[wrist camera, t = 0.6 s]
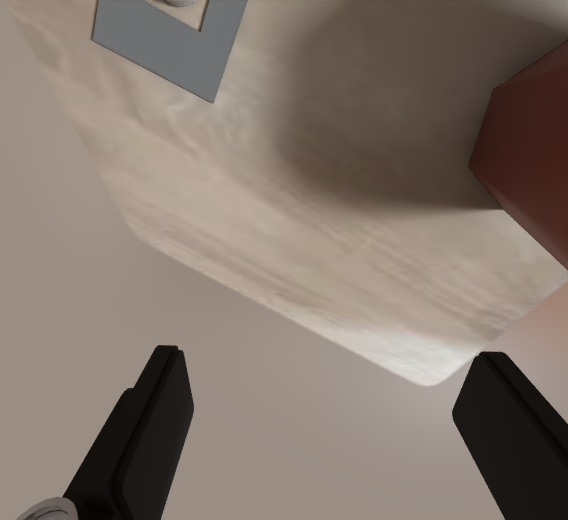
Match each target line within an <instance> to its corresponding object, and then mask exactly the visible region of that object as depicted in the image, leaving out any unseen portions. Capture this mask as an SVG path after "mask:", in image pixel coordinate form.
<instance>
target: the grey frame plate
mask: <svg viewBox="0 0 568 520" xmlns="http://www.w3.org/2000/svg"><path fill="white" fill-rule="evenodd" d="M246 3H247V0H209V4H208V7H207V11H206V14H205V18H204V21H203V25H202V29H201V32H199V31H197V30H195V29H193V28H192V27H190V26H188V25H186V24H185V23H183V22H181V21H179V20H178V19H176V18H174V17H172V16H171V15H169V14H167V13H165V12H164V11H162V10H160V9H158V8H157V7H155V6H153V5H151V4H150V3H148V2H146V1H144V0H99V1H98V8H97V14H96V21H95V28H94V34H93V40H94V41H95V42H97V43H99V44H101V45H103V46H105V47H107V48H109V49H111V50H113V51H115V52H116V53H118V54H120V55H122V56H124V57H126V58H128V59H130V60H132V61H134V62H135V63H137V64H139V65H141V66H143V67H145V68H147V69H149V70H151V71H153V72H154V73H156V74H158V75H160V76H162V77H164V78H166V79H168V80H170V81H172V82H173V83H175V84H177V85H179V86H181V87H183V88H185V89H187V90H189V91H191V92H193V93H194V94H196V95H198V96H200V97H202V98H204V99H206V100H208V101H210V102H212V103H214V100H215V97H216V94H217V91H218V88H219V85H220V82H221V79H222V76H223V73H224V70H225V67H226V64H227V61H228V58H229V55H230V52H231V49H232V46H233V43H234V40H235V37H236V34H237V31H238V28H239V25H240V22H241V19H242V16H243V13H244V10H245V6H246Z"/></svg>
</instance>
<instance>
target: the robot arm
mask: <svg viewBox="0 0 568 520" xmlns="http://www.w3.org/2000/svg"><path fill="white" fill-rule="evenodd" d="M193 412H194V404H193V398H192V393H191V388H190V383H189V378H188V373H187V367H186V362H185V358H184V353H183V351H182V350H178V347H177V346H170V345H168V346H167V345H166V346H165V345H158V346H157V347H156V348H155V350H154V352H153V353H152V355H151V357H150V359H149V361H148V362H147V364H146V366H145V368H144V370H143V371H142V374H141V375H140V377H139V379H138V381H137V383H136V384H135V386H134V388H128V389H127V390H126V391H124V393H123V394H122V395H121V397H120V399H119V400H118V402H117V404H116V405H115V407H114V409H113V411H112V412H111V414H110V416H109V417H108V419H107V421H106V423H105V425H104V426H103V428H102V430H101V431H100V433H99V435H98V436H97V438H96V440H95V442H94V443H93V445H92V447H91V448H90V450H89V452H88V454H87V456H86V457H85V459H84V461H83V462H82V464H81V466H80V468H79V469H78V471H77V473H76V475H75V476H74V478H73V480H72V481H71V483H70V485H69V487H68V488H67V490H66V492H65V493H64V495H63V497H62V498H61V497H55V498H51V499H46V500H44V501H42V502H40V503H38V504H36V505H34V506H32V507H31V508H30V509H28V510H27V511H26V512H24V513H23V514H21V515H20V516H19V517H18V518H17V519H16V520H161V517H162V513H163V510H164V507H165V504H166V500H167V497H168V494H169V491H170V487H171V484H172V481H173V478H174V475H175V471H176V468H177V465H178V462H179V459H180V455H181V452H182V449H183V446H184V443H185V439H186V436H187V433H188V430H189V426H190V423H191V420H192V417H193ZM452 416H453V420H454V423H455V425H456V427H457V429H458V430H459V432H460V434H461V436H462V438H463V440H464V442H465V444H466V446H467V447H468V450H469V451H470V453H471V455H472V457H473V459H474V461H475V463H476V465H477V467H478V468H479V470H480V472H481V474H482V476H483V478H484V480H485V482H486V484H487V486H488V488H489V489H490V492H491V493H492V495H493V497H494V499H495V500H496V503H497V505H498V507H499V508H500V511H501V513H502V514H503V516H504V518H505V520H568V424H567V423H566V422H565V420H564V419H563V418H562V417H561V416H560V415H559V414H558V412H557V411H556V410H555V409H554V408H553V407H552V406H551V405H550V403H549V402H548V401H547V400H546V399H545V398H544V397H543V396H542V394H541V393H540V392H539V391H538V390H537V389H536V387H535V386H534V385H533V384H532V383H531V382H530V381H529V380H528V378H527V377H526V376H525V375H524V374H523V373H522V372H521V370H520V369H519V368H518V367H517V366H516V365H515V364H514V362H513V361H512V360H511V359H510V358H509V357H508V356H507V355H506V354H505V353H503V352H481V353H480V354H479V355H478V356H476V357H475V358H474V360H473V362H472V365H471V367H470V370H469V372H468V374H467V377H466V379H465V381H464V384H463V386H462V388H461V391H460V393H459V396H458V398H457V400H456V403H455V405H454V408H453V411H452Z"/></svg>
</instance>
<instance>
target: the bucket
mask: <svg viewBox="0 0 568 520" xmlns="http://www.w3.org/2000/svg"><path fill="white" fill-rule="evenodd" d="M468 167H469V168H470V170H471V171H472V172H473V173H474V175H475V176H476V177H477V178H478V179H479V181H480V182H481V183H482V184H483V185H484V187H485V188H486V189H487V190H488V191H489V193H490V194H491V195H492V196H493V198H494V199H495V200H496V201H497V202H498V204H499V205H500V206H501V207H502V208H503V210H504V211H505V212H506V213H508V214H509V215H510V216H511V217H512V218H513V219H514V220H515V221H516V222H517V223H518V224H519V225H520V226H521V227H522V228H523V229H525V230H526V231H527V232H528V233H529V234H530V235H531V236H532V237H533V238H534V239H535V240H536V241H537V242H538V243H539V244H540V245H541V246H543V247H544V248H545V249H546V250H547V251H548V252H549V253H550V254H551V255H552V256H553V257H554V258H555V259H556V260H557V261H558V262H560V263H561V264H562V265H563V266H564V267H565V268H566V269H567V270H568V40H567V41H565V42H564V43H562V44H561V45H559V46H558V47H556V48H555V49H553V50H552V51H550V52H549V53H547V54H546V55H544V56H543V57H541V58H540V59H538V60H537V61H535V62H534V63H532V64H531V65H529V66H528V67H526V68H525V69H523V70H522V71H520V72H519V73H517V74H516V75H514V76H513V77H511V78H510V79H508V80H507V81H505V82H504V83H502V84H501V85H499V86H498V87H496V88H495V89H493V92H492V95H491V98H490V101H489V104H488V107H487V110H486V113H485V116H484V119H483V122H482V125H481V128H480V131H479V134H478V138H477V141H476V144H475V147H474V150H473V153H472V156H471V159H470V162H469V165H468Z"/></svg>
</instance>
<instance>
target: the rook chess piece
mask: <svg viewBox="0 0 568 520" xmlns="http://www.w3.org/2000/svg"><path fill="white" fill-rule="evenodd" d="M166 1H167V2H169V3H170V4H172V5H174V6H180V7H185V6H187V5H190V4H192V3H193V2H194V1H195V0H166Z"/></svg>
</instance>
